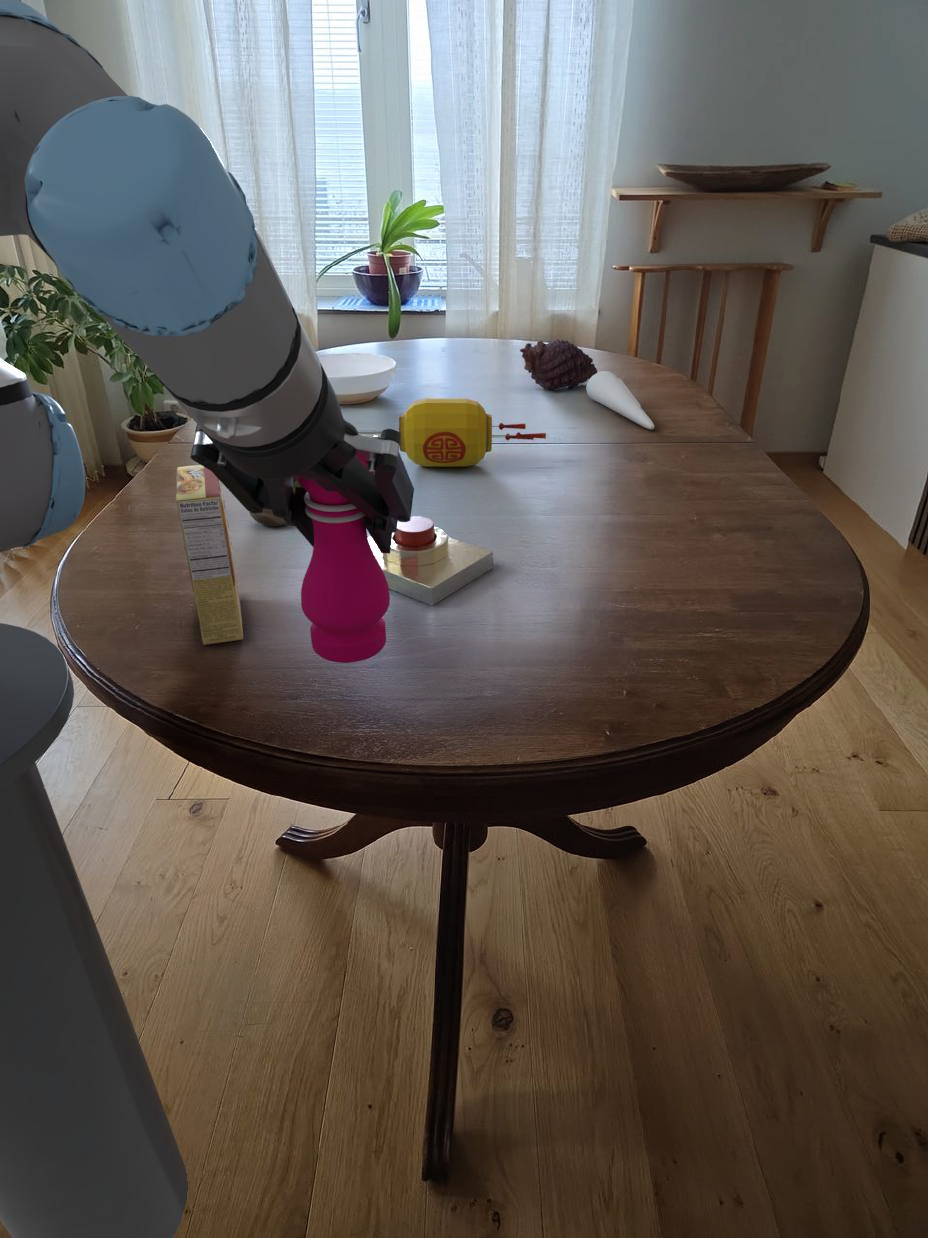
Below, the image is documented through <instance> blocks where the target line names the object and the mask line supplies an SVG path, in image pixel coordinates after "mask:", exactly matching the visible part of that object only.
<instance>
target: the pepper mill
mask: <svg viewBox="0 0 928 1238" xmlns="http://www.w3.org/2000/svg"><path fill="white" fill-rule="evenodd" d="M358 435H361V434H358ZM355 456H356V457H357V458H358V459H359V460H360V461H361V462H362V463H363V464H364V465H365V466H366V467H367V468H368V464H367V463H365V462H364V459H363V458H362V457H360V456H358V455H355ZM296 478H297V480H298V482H299V483H300V485H301V486H302V487H303V488H304V489H305V490H307V493H306V494H305V496H304V501H305V503H306V507H305V512H306V514H307V515H308V516H309V517H310V518H312V522H313V528H314V548H313V547H312V548H313V549H312V554H311V557H310V561H309V564H308V567H307V569H306V571H305V574H304V577H303V579H302V584H301V588H300V589H301V590H300V607H301V610H302V612H303V614H304V616H305V617H306V618H307V620H308V621H309V622H311V625H310V641H311V648H312V650H313V651H314V653H315V654H316V655H317V656H319V657H320V658H322V659H323V660H326V661H329V662H334V663H339V664H340V663H342V664H349V663H351V664H352V663H359V662H362V661H366V660H368V659H372V657H375V656H376V655H378V654H379V653H381V651H382V650H383V649H384V648H385V645H386V643H387V627H386V621H385V619H384V618H383V617H384V616H385V614H386V613H387V612H388V609H389V607H390V603H391V595H390V589H389V587H388V583H387V580H386V577H385V574H384V572H383V570H382V568H381V566H380V565H379V563H378V561H377V559H376V557H375V555H374V553H373V551H372V549H371V547H370V544H369V541H368V537H369V536H368V531H367V529H366V527H365V526H364V523H365V515H364V514H363V513H362V512H361V511H360V510H358V509H357V508H356V507H355V506H354V505H352V504H351V503H350V502H349V501H347V500H346V499H345V498H344V497H343V496H341V495H340V494H339V493H338V492H337V491H333V492H327V491H326V490H324V489H323V488H322V487H321V486H320V485H318V484H317V483H316V482H315V481H313V480H312V479H306V478H304V477H303V476H296Z"/></svg>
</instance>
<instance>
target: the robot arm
mask: <svg viewBox="0 0 928 1238" xmlns="http://www.w3.org/2000/svg"><path fill="white" fill-rule="evenodd" d="M215 148H216V147H214V145H213V143H212V141H211V140H210V138H209V137H208V136H207V134H206V133H205V131H204V130H203V129H202V128H201V126H200V125H199V124H198V123H196V122H195V120H193V119H192V118H191V117H190V116H189V115H187V114H186V113H185V112H183V111H181V110H180V109H178V108H177V107H175V106H173V105H170V104H168V103H165V104H155V103H152V102H149V101H147V100H146V99H143V98H141V97H140V96H134V95H128V94H127V93H126V92H125V91H124V90H123V89H122V88H121V87H120V85H119V84H117V82H115V80H114V79H113V78H112V77H111V76H110V75H109V73H108V72H107V71H106V70H105V69H104V66H103V65H102V64H101V63H100V62H99V61H98V60H97V58H96V57H95V55H94V54H92V53H91V52H90V51H89V50H88V48H86V47H84V46H82V45H81V44H79V42H78V41H77V40H76V38H75V39H74V38H73V37H72V35H70V34H68V33H64V32H63V31H62V30H61V29H60V28H59V27H58V26H56V25H55V24H54V23H53V22H52V21H50V20H49V19H48V18H47V17H46V16H45V15H44V14H42V13H41V12H40V11H38V10H36V9H35V8H34V7H32V6H30V5H28V4H26V3H25V2H24V1H23V2H22V1H21V0H0V237H9V236H20V235H23V236H28V238H30V239H31V240H32V241H33V243H35V245H36V246H37V247H38V248H39V249H40V250H41V251H42V252H43V253H44V254H46V256H47V257H48V258H49V260H51V261H52V262H53V264H54V266H55V268H57V270H58V271H59V272H60V273H61V275H62V276H63V277H64V278H65V280H66V281H67V282H68V283H69V284H70V285H71V287H73V289H74V290H75V292H77V293H78V294H79V296H81V298H82V299H83V300H84V301H85V302H86V303H87V304H88V305H89V306H90V307H91V309H93V311H95V312H96V313H98V315H100V316H101V317H102V318H103V320H104V321H105V322H106V323H107V324H108V325H109V326H110V327H111V329H112V330H113V331H114V332H115V334H117V335H118V336H119V338H120V339H121V340H122V341H123V342H124V343H125V344H126V345H127V346H128V348H130V349H131V350H132V352H133V353H134V354H135V355H136V356H137V357H138V358H139V359H140V360H141V361H142V362H143V364H144V365H145V366H146V367H148V369H149V370H150V371H151V372H152V373H153V374H154V375H155V376H156V377H157V379H158V381H159V382H160V383H161V384H162V385H163V386H164V388H165V389H166V390H167V391H168V392H169V394H171V396H172V397H173V398H174V400H176V402H177V403H178V404H179V405H180V406H181V407H182V409H183V410H184V411H185V412H186V413H187V414H188V415H189V416H190V417H191V419H192V420H193V421H194V422H195V424H196V427H195V431H194V436H193V442H192V447H191V452H190V459H191V460H192V461H193V462H195V463H197V464H198V465H202V466H204V467H205V468H207V469H209V470H210V471H212V472H213V474H214V475H215V476H216V477H217V478H218V479H219V480H220V481H221V484H222V485H223V486H224V487H225V488H226V489H227V490H228V491H229V492H230V494H232V495H233V497H235V499H236V500H237V501H238V502H239V503H240V504H241V505H242V507H244V508H245V510H246V511H248V512H251V513H262V512H263V509H264V508H265V509H270V510H272V513H273V515H275V516H277V517H279V518H283V519H284V520H285V521H286V523H287V524H286V525H288V526H291V527H293V528H296V529H297V530H298V531H299V533H300V534H301V535H302V536H303V537H304V538H305V539H306V541H307V542H308V544H310V545H311V547H312V548H314V528H313V522H312V518H310V517H309V516H308V515H307V514H306V512H305V507H306V503H305V501H304V496H305V494H306V493H307V490H305V489H304V488H302V487H296V489H295V495H294V493H293V488H294V481H295V477H294V476H303V477H304V478H306V479H312V480H313V481H315V482H316V483H317V484H318V485H320V486H321V487H322V488H323V489H324V490H326V491H327V492H333V491H337V492H338V493H339V494H340V495H341V496H343V497H344V498H345V499H346V500H347V501H349V502H350V503H351V504H352V505H354V506H355V507H356V508H357V509H358V510H360V511H361V512H362V513H363V514H364V515H365V523H364V526H365V527H366V530H367V533H368V534H369V536H371V537H372V539H373V540H374V542H375V544H376V545H377V547H378V549H379V550H380V552H381V553H389V554H390V549H391V541H392V533H393V532H396V530H397V522H398V521H400V522H408V521H410V518H411V516H412V510H413V501H414V493H415V487H414V485H413V483H412V481H411V478H410V475H409V473H408V470H407V468H406V466H405V463H404V461H403V458H402V456H401V453H400V438H401V433H400V432H399V430H396V429H393V428H385V429H383V430H382V431H381V432H382V433H381V434H380V436H378V435H373V436H372V437H371V436H365V435H362V434H360V435H358V432H359V431H358V430H357V428H356V426H354V424H352V423H350V422H349V421H347V420H346V418H344V416H343V413H342V409H341V404H339V402H338V399H337V396H336V394H335V392H334V389H333V387H332V385H331V383H330V381H329V379H328V377H327V375H326V373H325V371H324V369H323V367H322V365H321V363H320V360H319V358H318V354H317V352H316V350H315V349H316V348H315V347H314V345H313V344H312V341H311V339H310V337H309V335H308V334H307V330H306V329H305V327H304V325H303V323H302V321H301V319H300V317H299V315H298V313H297V311H296V309H295V308H294V306H293V303H292V302H291V299H290V297H289V295H288V293H287V290H286V288H285V286H284V285H283V282H282V280H281V278H280V276H279V274H278V272H277V270H276V267H275V265H274V263H273V261H272V259H271V257H270V254H269V252H268V251H267V248H266V246H265V244H264V242H263V240H262V237H261V235H260V233H259V231H258V229H257V227H256V225H255V220H254V219H255V218H254V215H253V213H252V212H251V210H250V208H249V206H248V199H247V196H246V195H245V193H244V191H243V189H242V187H241V185H240V184H239V182H238V181H237V179H236V178H235V177H234V175H233V174H232V173H231V172H230V171H228V170H227V168H226V166H225V165H224V163H223V161H222V159H221V158H220V156H219V154H218V152H217V151H216V149H215ZM66 414H67V413H65V411H64V409H63V408H62V406H61V405H60V404H59V403H58V402H57V401H56V400H55V399H53V398H52V397H51V396H49V395H47V394H43V393H40V392H37V391H32V389H31V386H30V383H29V380H28V378H27V375H26V373H25V372H23V371H21V370H20V369H18V368H16V367H15V366H14V365H11V364H10V363H8V362H6V361H5V360H3V359H2V358H1V357H0V553H3V552H6V551H9V550H13V549H16V548H20V547H21V548H27V547H30V546H32V545H34V544H36V543H37V542H38V541H39V540H43V539H45V538H47V537H51V536H53V535H55V534H58V533H61V532H64V531H65V530H67V529H69V528H70V527H71V526H72V525H74V523H76V521H77V519H78V518H79V515H80V514H81V512H82V507H83V505H84V501H85V496H86V495H85V493H86V477H85V467H84V461H83V456H82V452H81V447H80V445H79V440H78V438H77V436H76V433H75V430H74V428H73V426H72V424H71V423H69V422H68V421H67V415H66ZM355 455H358V456H360V457H362V458H363V459H364V462H365V463H367V464H368V468H367V467H366V466H365V465H364V464H363V463H362V462H361V461H360V460H359V459H358V458H357V457H356V456H355Z"/></svg>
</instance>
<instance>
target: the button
mask: <svg viewBox="0 0 928 1238" xmlns="http://www.w3.org/2000/svg"><path fill="white" fill-rule="evenodd" d="M434 526H435V523H434V521H433V520H432V519H431V518H429V517H426V516H420V515H411V518H410V521H408V522H400V521H398V522H397V530H396V532H395V542H396V544H399V545H402V546H405V547H420V546H426V545H429V544H431V543H433V542H434Z"/></svg>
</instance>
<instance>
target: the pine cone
mask: <svg viewBox="0 0 928 1238" xmlns="http://www.w3.org/2000/svg"><path fill="white" fill-rule="evenodd" d="M519 352H520V353H522V354H521V358H523V359H524V367H523V368H524V370H526V371H527V372H528V374H530V378H531V379H532V380H534V382H535V384H536V385H539V386H540V387H541V388H545V389H546V390H547V391H549V390H552V389H553V390H554V391H557V390H559V389H560V388H564V389H565V388H567V387H568V388H569V387H577V386H578V385H579V384H585V383H587V382H588V381H589V379H590V378H591V377H592V376H593V375H594V374H596V373H598V370H597V367H596V366H595V364H594V363H593V361H594V359H593V358H592V357H590V356H589V355H588V354H586V353H585V352H584V351H583V349H581V348H579V347H578V346H577V345H575V344H574V343H572V342H571V343H570V341H568V340H564V339H561V340H560V339H556V340H553V341H549V342H548V343H545V342H543V340H539V341H537V342H536V344H535V345H534V346H532V343H526V344H525V345H524V347H523V348H520V349H519Z"/></svg>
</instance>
